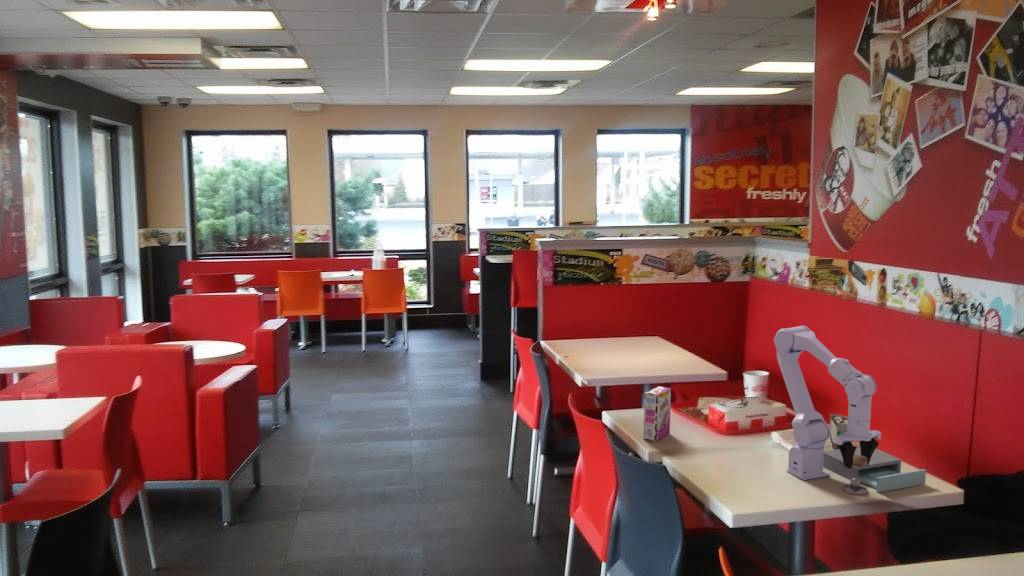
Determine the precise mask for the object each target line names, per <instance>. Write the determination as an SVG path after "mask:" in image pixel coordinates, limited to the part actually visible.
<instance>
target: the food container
mask: <svg viewBox="0 0 1024 576" xmlns="http://www.w3.org/2000/svg"><path fill="white" fill-rule="evenodd" d="M829 420H830V426H829V428H830V437H829V441H830V440H831V443H832V447H831V450H836V449H839V447H838V445H837V444H836V443H834V442H835V436H839V435H841V434H843V433H846V432H847V426H848V416H845V415H841V414H836V413H830V418H829Z"/></svg>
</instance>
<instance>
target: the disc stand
mask: <svg viewBox="0 0 1024 576" xmlns="http://www.w3.org/2000/svg"><path fill="white" fill-rule="evenodd" d="M861 483H862V482H861V479H860V478H858V477H851V480H850V483H848V484H845V485H844V484H843V486H842V491H844V492H845V493H847V492H848V493H847V494H850V493H851V494H850V495H854V494H864V495H867V494H868V493H869V491H868V488H867V487H865V486H863V485H861ZM867 492H868V493H867ZM866 493H867V494H866Z"/></svg>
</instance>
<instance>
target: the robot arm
mask: <svg viewBox="0 0 1024 576" xmlns="http://www.w3.org/2000/svg"><path fill="white" fill-rule="evenodd" d="M773 343H774V346H775V348H776V359H777V362H778V365H779V369H780V372H781V374H782V375H781V376H782V377H783V381H784V383H785V387H786V390H787V393H788V395H789V398H790V401H791V404H792V407H793V411H794V413H795V417H794V418H793V420H792V421H791V425H792V435H793V439H794V441H795V443H796V444H795V446H792V447H790V449H789V451H788V468H787V469H786V472H787V473H789V474H791V475H794V476H796V477H797V478H799V479H801V480H805V481H806V480H807V481H808V480H812V479H817V478H819V479H820V478H823V477H830V473H828V472H826V471H824V467H823V459H824V451H825V445H826V441H828V440H829V439H830V426H829V425H828V423H827V422H826V421H825V419H824V417H823V414H821V413H819V412H818V411H817V410H815V407H814V404H813V402H812V399H811V395H810V392H809V389H808V387H807V384H806V381H805V379H804V378H805V377H804V375H803V372H802V369H801V366H800V363H799V360H798V359H799V357H800V355H801V353H803V352H804V351H807V352H808V353H809V354H810V355H812V356H814V358H816V359H817V360H818V361H820V362H821V363H823V364H824V365H825V366H827V371H828V374H830V376H832V377H833V378H834V379H835V380H837V382H839V383H840V384H841V386H843V387H844V392H845V394H846V395H847V402H848V409H847V410H848V411H847V417H848V426H847V432H846V433H843V434H841V435H839V436H835V442H834V443H836V444H837V445H838V447H839V449H840V451H841V454H842V457H843V462H844V466H845V467H847V468H849V469H850V468H852V464H853V456H854V453H855V450H856V448H857V447H855V446H856V445H853V443H857V442H858V443H859V446H860V449H861V456H864V457H866V458H867V466H868V465H869V462H870V459H871V457H872V454H873V452H874V451H875V449H877V448H878V446H879V445H880V441H878V440H881V439H882V432H881V431H879V430H877V429H876V430H871V429H870V428H871V414H872V413H871V411H872V399H873V398H872V397H873V395H874V394H875V393H876V392H877V388H878V387H877V383H876V380H875V379H874V378H873V377H872V376H871V375H869V374H863V373H862V372H861V370H858V369H856V367H854V366H853V365H852V364H850V361H849V359H847V358H845V359H844V358H843V357H836V356H835V355H834V354H833V353H832V352H831V350H829V349H828V348H827V347H826V346H825V345H824V344H823V343H822V342H821V341H820V340H819V339H818V338H817V337H816V333H815V332H814V331H812V330H811V329H810V328H809V327H808V326H806V325H799V326H794V327H788V328H787V327H786V328H783V327H782V328H781V329H778V330H777V332H776V334H775V336H774V337H773Z"/></svg>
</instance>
